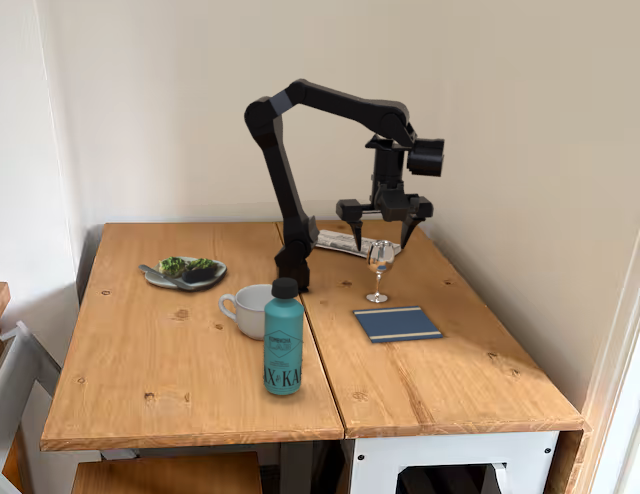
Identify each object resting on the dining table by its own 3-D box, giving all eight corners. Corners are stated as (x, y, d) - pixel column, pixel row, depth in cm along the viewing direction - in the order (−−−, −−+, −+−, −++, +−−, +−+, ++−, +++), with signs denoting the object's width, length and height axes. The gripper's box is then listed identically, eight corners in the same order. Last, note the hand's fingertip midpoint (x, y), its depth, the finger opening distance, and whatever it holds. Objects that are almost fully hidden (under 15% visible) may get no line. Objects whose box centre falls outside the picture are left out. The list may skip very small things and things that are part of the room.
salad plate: (121, 286, 156) (119, 266, 154) (159, 258, 170) (158, 240, 168) (202, 299, 151) (200, 278, 148) (234, 269, 165) (234, 250, 163)
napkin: (372, 343, 134) (372, 341, 134) (352, 311, 146) (352, 310, 146) (442, 337, 137) (443, 335, 136) (417, 307, 148) (418, 305, 148)
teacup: (298, 326, 140) (299, 288, 136) (280, 350, 131) (281, 310, 127) (232, 315, 144) (231, 278, 140) (211, 338, 135) (209, 299, 131)
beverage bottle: (261, 383, 121) (261, 273, 111) (300, 382, 122) (303, 272, 111) (264, 404, 116) (263, 289, 105) (304, 402, 116) (308, 288, 106)
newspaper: (301, 247, 178) (301, 237, 177) (324, 238, 188) (325, 228, 186) (384, 264, 168) (385, 254, 167) (404, 254, 177) (405, 244, 176)
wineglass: (389, 304, 149) (395, 249, 143) (362, 302, 150) (366, 247, 144) (391, 293, 154) (396, 240, 148) (364, 291, 155) (369, 237, 149)
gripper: (352, 185, 130) (346, 266, 138) (449, 182, 133) (438, 261, 141) (337, 170, 139) (332, 246, 148) (428, 167, 142) (418, 242, 151)
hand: (380, 249), depth 147 cm, fingers open, 9 cm apart
